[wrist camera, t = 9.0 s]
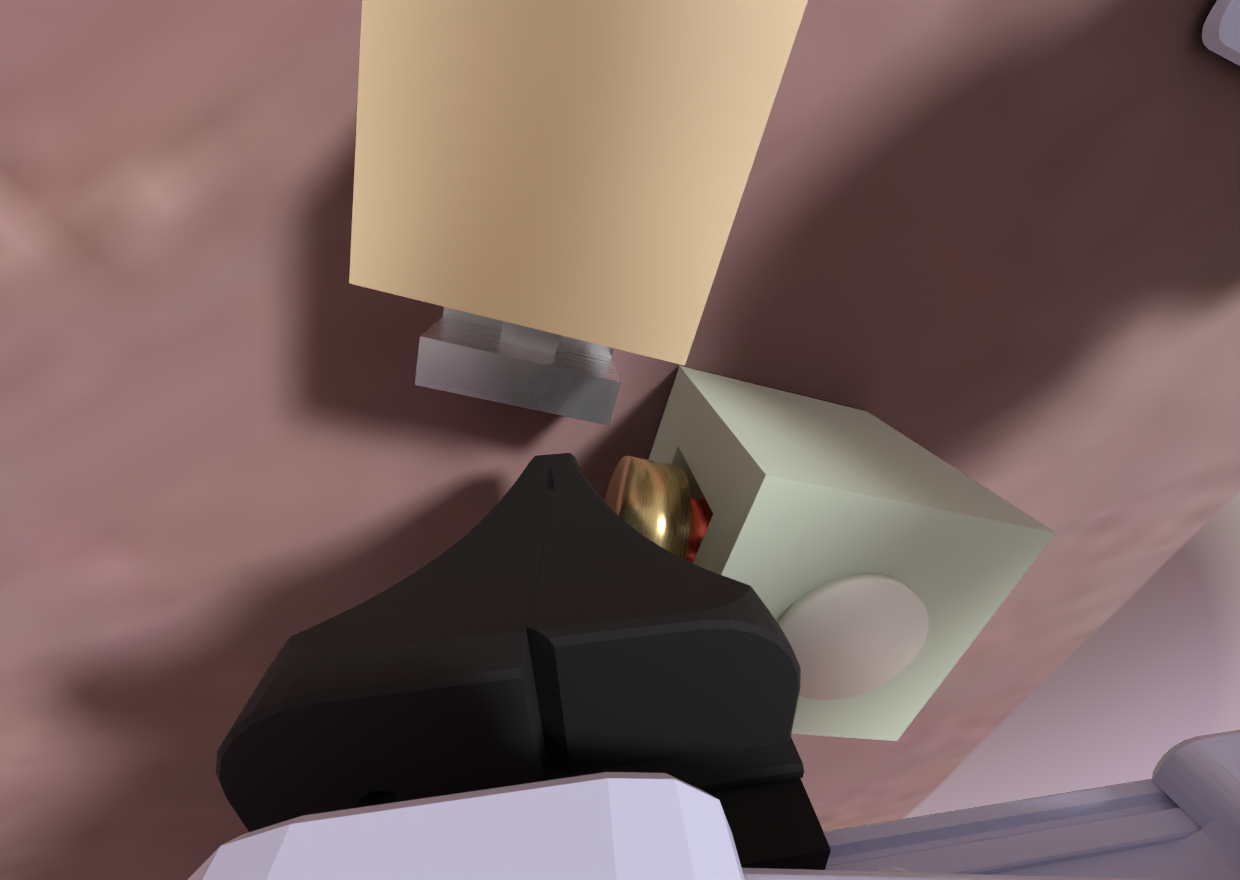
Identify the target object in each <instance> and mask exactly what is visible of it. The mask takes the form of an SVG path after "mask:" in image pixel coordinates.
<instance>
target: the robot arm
mask: <svg viewBox="0 0 1240 880" xmlns="http://www.w3.org/2000/svg"><path fill="white" fill-rule="evenodd" d="M1202 40H1203V44H1204V45H1205V46H1206V47H1207V48H1208V49H1209V50H1211V51H1213V52H1214V53H1216V54H1218V55H1220V56H1222V57H1224V58H1226V59H1228V60H1229V61H1231V62H1233V63H1235V64H1237V65H1239V66H1240V0H1217V1H1216V3H1215V5H1214V6H1213V8H1212V10H1211V11H1210V13H1209V14H1208V16H1207V19H1206V21H1205V23H1204V25H1203V30H1202ZM800 680H801V668H800V666H799V663H798V661H797V658H796V656H795V653H794V651H793V649H792V647H791V645H790V643H789V641H788V639H787V638H786V636H785V634H784V632H783V630H782V629H781V627H780V626H779V624H778V623H777V621H776V620H775V618H774V617H773V615H772V614H771V613H770V611H769V610H768V608H767V607H766V606H765V604H764V603H763V602H762V600H761V599H760V597H759V596H758V595H757V593H756V592H755V591H754V589H753V588H752V587H751V586H750V585H747V584H745V583H742V582H739V581H736V580H734V579H731V578H728V577H725V576H723V575H720V574H717V573H714V572H712V571H709V570H706V569H704V568H702V567H699V566H697V565H695V564H693V563H691V562H689V561H687V560H685V559H682V558H680V557H678V556H676V555H675V554H673V553H671V552H669V551H667V550H665V549H664V548H662V547H660V546H659V545H657V544H656V543H654V542H652V541H651V540H649V539H648V538H646V537H644V536H643V535H642V534H640V533H639V532H637V531H636V530H635V529H634V528H633V527H631V526H630V525H629V524H628V523H626V522H625V521H624V520H623V519H622V518H621V517H620V516H619V515H618V514H617V513H616V512H615V511H614V510H613V509H612V508H611V507H610V506H609V505H608V504H607V503H606V502H605V501H604V500H603V499H602V498H601V497H600V495H599V494H598V493H597V492H596V490H595V489H594V488H593V487H592V485H591V484H590V483H589V481H588V480H587V479H586V477H585V476H584V474H583V473H582V471H581V470H580V468H579V466H578V464H577V462H576V459H575V457H574V456H573V455H572V454H571V453H564V454H552V455H539V456H535V457H534V458H533V459H532V460H531V461H530V463H529V464H528V466H527V467H526V468H525V470H524V471H523V473H522V474H521V475H520V477H519V478H518V479H517V481H516V482H515V483H514V485H513V486H512V487H511V488H510V490H509V491H508V492H507V493H506V495H505V496H504V497H503V498H502V500H501V501H500V502H499V503H498V504H497V505H496V506H495V507H494V508H493V509H492V511H491V512H490V513H489V514H488V515H487V516H486V517H485V518H484V519H483V520H482V521H481V522H480V523H479V524H478V525H477V526H476V527H475V528H474V529H473V530H472V531H470V532H469V533H468V534H467V535H466V536H464V537H463V538H462V539H461V540H460V541H459V542H457V543H456V544H455V545H454V546H452V547H451V548H450V549H448V550H447V551H446V552H444V553H443V554H441V555H440V556H438V557H437V558H436V559H434V560H433V561H431V562H430V563H428V564H427V565H426V566H424V567H423V568H421V569H420V570H419V571H417V572H416V573H414V574H412V575H411V576H409V577H408V578H406V579H404V580H403V581H401V582H399V583H398V584H396V585H394V586H393V587H391V588H389V589H387V590H386V591H384V592H382V593H380V594H378V595H377V596H375V597H373V598H371V599H369V600H367V601H366V602H364V603H362V604H360V605H358V606H356V607H354V608H352V609H350V610H348V611H346V612H343V613H341V614H339V615H337V616H335V617H333V618H331V619H329V620H326V621H324V622H322V623H320V624H318V625H316V626H314V627H312V628H310V629H307V630H305V631H303V632H301V633H298V634H296V635H294V636H291V637H290V638H289V640H288V641H287V642H286V644H285V645H284V647H283V648H282V649H281V651H280V652H279V654H278V655H277V657H276V658H275V660H274V661H273V662H272V664H271V665H270V667H269V668H268V670H267V672H266V673H265V675H264V676H263V678H262V680H261V681H260V683H259V684H258V686H257V688H256V689H255V691H254V692H253V694H252V696H251V697H250V699H249V701H248V702H247V704H246V705H245V707H244V709H243V710H242V712H241V713H240V715H239V717H238V718H237V720H236V721H235V723H234V725H233V726H232V728H231V730H230V731H229V733H228V735H227V736H226V738H225V740H224V741H223V743H222V745H221V747H220V748H219V750H218V752H217V766H216V774H217V776H218V779H219V781H220V784H221V786H222V788H223V791H224V793H225V795H226V797H227V799H228V801H229V802H230V804H231V805H232V807H233V808H234V810H235V811H236V813H237V814H238V816H239V817H240V819H241V820H242V822H243V823H244V825H245V826H246V828H247V829H248V831H249V832H248V833H245V834H242V835H240V836H238V837H236V838H234V839H232V840H231V841H229V842H227V843H225V844H223V845H221V846H220V847H219V848H218V849H217V850H216V851H215V852H214V853H213V854H212V855H211V856H210V857H209V858H208V859H207V860H206V861H205V862H204V863H203V864H202V865H201V866H200V867H199V868H198V869H197V870H196V871H195V872H194V873H193V874H192V876H191V877H190V878H189V879H188V880H1240V730H1236V731H1230V732H1223V733H1218V734H1211V735H1204V736H1197V737H1194V738H1191V739H1188V740H1184V741H1183V742H1181V743H1179V744H1177V745H1176V746H1174V747H1172V748H1171V749H1170V750H1169V751H1168V752H1167V753H1166V754H1165V755H1164V756H1163V757H1162V758H1161V760H1160V761H1159V762H1158V764H1157V766H1156V767H1155V769H1154V771H1153V777H1152V779H1147V780H1141V781H1135V782H1129V783H1123V784H1116V785H1111V786H1105V787H1098V788H1092V789H1085V790H1079V791H1073V792H1067V793H1061V794H1055V795H1048V796H1043V797H1036V798H1030V799H1024V800H1017V801H1011V802H1006V803H999V804H993V805H987V806H981V807H975V808H969V809H962V810H956V811H950V812H944V813H937V814H931V815H925V816H919V817H912V818H906V819H900V820H894V821H888V822H881V823H875V824H869V825H863V826H857V827H851V828H844V829H838V830H832V831H826V832H823V830H822V828H821V825H820V823H819V821H818V818H817V816H816V814H815V811H814V809H813V807H812V804H811V802H810V800H809V797H808V795H807V793H806V790H805V788H804V786H803V783H802V781H801V779H800V778H802V777H803V773H804V769H803V764H802V761H801V759H800V756H799V754H798V752H797V750H796V747H795V745H794V743H793V741H792V738H791V733H792V728H793V723H794V718H795V712H796V707H797V702H798V697H799V692H800Z"/></svg>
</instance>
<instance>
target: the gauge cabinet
mask: <svg viewBox="0 0 1240 880" xmlns="http://www.w3.org/2000/svg"><path fill="white" fill-rule="evenodd" d="M648 460H652V461H657V462H662V463H667V464H672V465H678V466H680V467H681V468H682V469H683V470H684V472H685V474H686V476H687V479H688V483H689V487H690V495H691V497H696V498H702V499H706V501H707V503H708V505H709V507H710V508H711V510H712V512H713V516H712V518H711V521H710V523H709V525H708V528H707V530H706V533H705V535H704V537H703V540H702V542H701V545H700V547H699V550H698V552H697V554H696V557H695V559H694V562H693V564H695V565H697V566H699V567H702V568H704V569H706V570H709V571H712V572H714V573H717V574H720V575H723V576H725V577H728V578H731V579H734V580H736V581H739V582H742V583H745V584H747V585H750V586H751V587H752V588H753V589H754V591H755V592H756V593H757V595H758V596H759V597H760V599H761V600H762V602H763V603H764V604H765V606H766V607H767V608H768V610H769V611H770V613H771V614H772V615H773V617H774V618H775V620H776V621H777V623H778V624H779V626H780V627H781V629H782V630H783V632H784V634H785V636H786V638H787V639H788V641H789V643H790V645H791V647H792V649H793V651H794V653H795V656H796V658H797V661H798V663H799V666H800V668H801V680H800V692H799V697H798V702H797V707H796V712H795V718H794V723H793V728H792V733H791V734H803V735H818V736H832V737H846V738H860V739H875V740H889V741H897V740H898V739H899V738H900V736H901V735H902V734H903V732H904V731H905V730H906V728H907V727H908V726H909V725H910V723H911V722H912V721H913V719H914V718H915V717H916V715H917V714H918V713H919V711H920V710H921V709H922V707H923V706H924V705H925V704H926V702H927V701H928V700H929V698H930V697H931V696H932V694H933V693H934V692H935V690H936V689H937V688H938V687H939V685H940V684H941V683H942V681H943V680H944V679H945V677H946V676H947V675H948V673H949V672H950V671H951V669H952V668H953V667H954V666H955V664H956V663H957V662H958V660H959V659H960V658H961V656H962V655H963V654H964V652H965V651H966V650H967V649H968V647H969V646H970V645H971V643H972V642H973V641H974V639H975V638H976V637H977V635H978V634H979V633H980V632H981V630H982V629H983V628H984V626H985V625H986V624H987V622H988V621H989V620H990V618H991V617H992V616H993V614H994V613H995V612H996V611H997V609H998V608H999V607H1000V605H1001V604H1002V603H1003V601H1004V600H1005V599H1006V597H1007V596H1008V595H1009V594H1010V592H1011V591H1012V590H1013V588H1014V587H1015V586H1016V584H1017V583H1018V582H1019V580H1020V579H1021V578H1022V576H1023V575H1024V574H1025V573H1026V571H1027V570H1028V569H1029V567H1030V566H1031V565H1032V563H1033V562H1034V561H1035V559H1036V558H1037V557H1038V556H1039V554H1040V553H1041V552H1042V550H1043V549H1044V548H1045V546H1046V545H1047V544H1048V542H1049V541H1050V540H1051V538H1052V537H1053V536H1054V535H1055V533H1056V532H1054V531H1052V530H1051V529H1049V528H1048V527H1046V526H1045V525H1043V524H1042V523H1040V522H1038V521H1037V520H1035V519H1034V518H1032V517H1031V516H1029V515H1028V514H1026V513H1024V512H1023V511H1021V510H1020V509H1018V508H1017V507H1015V506H1013V505H1012V504H1010V503H1009V502H1007V501H1006V500H1004V499H1003V498H1001V497H999V496H998V495H996V494H995V493H993V492H992V491H990V490H989V489H987V488H985V487H984V486H982V485H981V484H979V483H978V482H976V481H975V480H973V479H971V478H970V477H968V476H967V475H965V474H964V473H962V472H961V471H959V470H957V469H956V468H954V467H953V466H951V465H950V464H948V463H947V462H945V461H943V460H942V459H940V458H939V457H937V456H936V455H934V454H933V453H931V452H929V451H928V450H926V449H925V448H923V447H922V446H920V445H919V444H917V443H915V442H914V441H912V440H911V439H909V438H908V437H906V436H905V435H903V434H901V433H900V432H898V431H897V430H895V429H894V428H892V427H891V426H889V425H887V424H886V423H884V422H883V421H881V420H880V419H878V418H876V417H875V416H873V415H872V414H870V413H869V412H867V411H863V410H859V409H855V408H851V407H846V406H842V405H838V404H834V403H830V402H826V401H822V400H818V399H814V398H810V397H806V396H801V395H797V394H793V393H789V392H785V391H781V390H777V389H773V388H769V387H765V386H761V385H756V384H752V383H748V382H744V381H740V380H736V379H732V378H728V377H724V376H720V375H715V374H711V373H707V372H703V371H699V370H695V369H691V368H687V367H683V366H679V369H678V372H677V375H676V378H675V381H674V384H673V387H672V390H671V393H670V396H669V399H668V402H667V405H666V408H665V411H664V414H663V417H662V420H661V423H660V426H659V429H658V432H657V435H656V438H655V441H654V444H653V447H652V450H651V453H650V456H649V459H648Z"/></svg>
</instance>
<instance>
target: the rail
mask: <svg viewBox="0 0 1240 880" xmlns="http://www.w3.org/2000/svg"><path fill="white" fill-rule="evenodd" d="M613 349H614V348H611V347H607V346H603V345H599V344H595V343H591V342H587V341H582V340H578V339H574V338H570V337H566V336H562V335H558V334H554V333H550V332H546V331H542V330H538V329H534V328H529V327H525V326H521V325H517V324H513V323H509V322H505V321H501V320H497V319H493V318H489V317H485V316H480V315H476V314H472V313H468V312H464V311H460V310H456V309H452V308H448V307H444V311H443V316H442V317H441V318H440V319H439V320H438V321H437V322H436V323H434V324H433V325H432V326H431V327H430V328H429V329H428V330H426V331H425V332H424V333H423V334H422V335H421V336H420V341H419V350H418V360H417V369H416V378H415V385H418V386H422V387H427V388H432V389H437V390H442V391H446V392H451V393H456V394H461V395H466V396H470V397H475V398H480V399H485V400H490V401H494V402H499V403H504V404H509V405H514V406H518V407H523V408H528V409H533V410H538V411H542V412H547V413H552V414H557V415H562V416H566V417H571V418H576V419H581V420H586V421H590V422H595V423H600V424H605V425H609V422H610V418H611V415H612V411H613V408H614V404H615V401H616V397H617V394H618V390H619V387H620V383H621V382H620V379H619V376H618V373H617V371H616V368H615V365H614V363H613V360H612V357H611V356H612V352H613Z"/></svg>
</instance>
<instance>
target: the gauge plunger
mask: <svg viewBox="0 0 1240 880" xmlns="http://www.w3.org/2000/svg"><path fill="white" fill-rule="evenodd" d="M605 502H606V503H607V504H608V505H609V506H610V507H611V508H612V509H613V510H614V511H615V512H616V513H617V514H618V515H619V516H620V517H621V518H622V519H623V520H624V521H625V522H626V523H628V524H629V525H630V526H631V527H633V528H634V529H635V530H636V531H637V532H639V533H640V534H642V535H643V536H644V537H646V538H648V539H649V540H651V541H652V542H654V543H656V544H657V545H659V546H660V547H662V548H664V549H665V550H667V551H669V552H671V553H673V554H675V555H676V556H678V557H680V558H682V559H685V560H687V561H689V562H691V563H693V562H694V559H695V557H696V554H697V552H698V550H699V547H700V545H701V542H702V540H703V537H704V535H705V533H706V530H707V528H708V525H709V523H710V521H711V518H712V516H713V512H712V510H711V508H710V507H709V505H708V503H707V501H706V499H702V498H696V497H691V495H690V487H689V483H688V479H687V476H686V474H685V472H684V470H683V469H682V468H681V467H680V466H678V465H672V464H667V463H662V462H657V461H652V460H647V459H642V458H637V457H632V456H624V457H623V458H621V460H620V461H619V462H618V464H617V466H616V468H615V470H614V472H613V475H612V477H611V480H610V483H609V486H608V490H607V493H606V497H605Z"/></svg>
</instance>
